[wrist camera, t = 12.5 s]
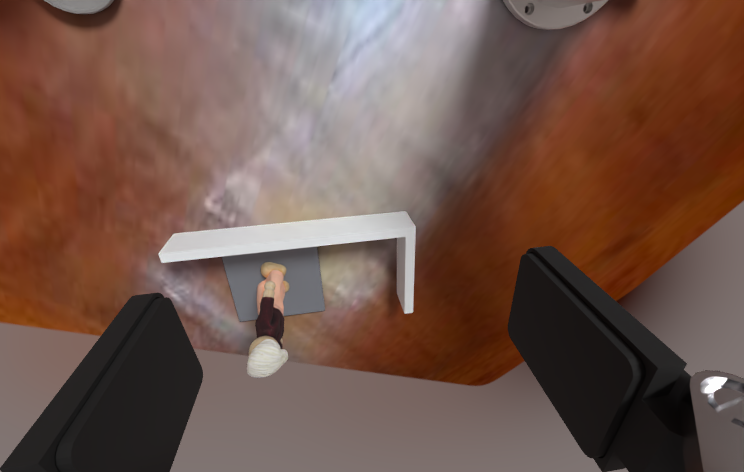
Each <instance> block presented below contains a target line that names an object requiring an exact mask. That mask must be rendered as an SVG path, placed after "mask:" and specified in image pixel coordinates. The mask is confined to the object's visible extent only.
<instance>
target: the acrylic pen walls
mask: <svg viewBox="0 0 744 472" xmlns="http://www.w3.org/2000/svg"><path fill="white" fill-rule="evenodd" d="M415 235H416V227H415V225H414V223H413V222H412V220H411V219H410V217H409V215H408V214H407V212H406V211H401V212H390V213H380V214H370V215H359V216H349V217H339V218H328V219H318V220H308V221H298V222H287V223H277V224H267V225H256V226H246V227H236V228H226V229H215V230H205V231H195V232H184V233H174V234H173V235H172V236H171V238H170V239H169V240H168V242H167V243H166V244H165V246H164V247H163V248H162V249H161V251H160V252H159V253H158V254H159V257H160V259H161V262H162V263H166V262H175V261H185V260H194V259H203V258H213V257H222V256H231V255H241V254H250V253H259V252H269V251H278V250H287V249H297V248H306V247H315V246H325V245H334V244H343V243H353V242H362V241H372V240H381V239H390V238H397V295H398V298H399V300H400V303H401V306H402V308H403V311H404V314H407V313H413V298H414V266H415Z"/></svg>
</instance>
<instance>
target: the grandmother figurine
mask: <svg viewBox="0 0 744 472" xmlns="http://www.w3.org/2000/svg"><path fill="white" fill-rule="evenodd" d="M261 274H262V275H263V276H264V277H265V278H266V280H264V281H262V282H261V283H259V284H258V287H257V308H258V318H257V320H256V325H255V326H256V331H257V339H255V340H254V341H253V342H252V344H251V346H250V348H249V358H248V362H247V373H248V375H250V376H252V377H255V378H259V377H260V378H262V377H267V376H270V375H271V374H273V373H275V372H276V371H277V370H279V369H280V367H281V366H282V365H283V364H284V363H285V362H286V361H287V359H288V352H287V351H286V350H285V349H282V342H283V340H282V336H283V332H284V317H283V313H284V306H283V300H284V296H285V293H286V292H287V291H288V290H289V288H290V287H289V283H288V282H286V281H283V280H284V276H285V274H286V267H285V266H283V265H281V264H277V263H273V262H265V263H264V264H262V266H261Z"/></svg>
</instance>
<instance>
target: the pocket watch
mask: <svg viewBox="0 0 744 472" xmlns="http://www.w3.org/2000/svg"><path fill="white" fill-rule="evenodd" d="M44 1H46V2H47V3H49V4H51V5H52V6H54V7H56V8H59V9H61V10H63V11H67V12H70V13H73V14H94V13H97V12H100V11H102V10H104V9H105V8H107V7H108V6H110V4H111V3H112V2H113V1H114V0H44Z"/></svg>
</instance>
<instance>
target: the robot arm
mask: <svg viewBox="0 0 744 472" xmlns="http://www.w3.org/2000/svg"><path fill="white" fill-rule="evenodd" d="M503 1H504V3H505V5H506V7H507V8H508V9H509V11H510V12H511V13H512V14H513V15H514V16H515V17H516V18H517V19H518V20H520V21H521V22H523V23H524V24H526V25H528V26H531V27H533V28H536V29H544V30H552V29H562V28H566V27H569V26H573V25H575V24H577V23H579V22H581V21H584V20H586V19H587V18H588V17H590V16H591V15H593V14H594V13H595V12H597V11H598V10H599V9H600V8H601V7H602V6H603V5H604V4H605V3H606V2H607V1H608V0H503ZM525 8H526V12H525ZM508 332H509V336H510V338H511V340H512V341H513V343H514V344H515V346H516V348H517V349H518V351H519V352H520V354H521V355H522V357H523V359H524V360H525V362H526V363H527V365H528V366H529V368H530V369H531V371H532V373H533V374H534V376H535V377H536V379H537V381H538V382H539V384H540V385H541V387H542V388H543V390H544V392H545V393H546V395H547V396H548V398H549V399H550V401H551V402H552V404H553V406H554V407H555V409H556V410H557V412H558V413H559V415H560V417H561V418H562V420H563V421H564V423H565V424H566V426H567V428H568V429H569V431H570V432H571V434H572V435H573V437H574V439H575V440H576V442H577V443H578V445H579V446H580V448H581V449H582V451H583V452H584V453H585V454H586V455H587V456H588V457H590V458H593V459H594V460H595V462H596V463H597V465H598V466H599V468H600V469H601V471H602V472H607V471H613V470H618V469H623V468H627V470H628V471H629V472H744V378H741V377H738V376H736V375H733V374H729V373H725V372H720V371H710V370H705V371H701V372H697V373H695V374H694V375H693V376H692V377H691V376H690V375H689V374H688V373H687V372H686V371H684V368H685V366H686V364H687V363H686V362H684V361H683V360H682V359H681V358H680V357H679V356H677V355H676V354H675V353H674V352H673V351H672V350H671V349H670V348H668V347H667V346H666V345H665V344H664V343H663V342H662V341H660V340H659V339H658V338H657V337H656V336H655V335H654V334H653V333H651V332H650V331H649V330H648V329H647V328H646V327H645V326H643V325H642V324H641V323H640V322H639V321H638V320H637V319H635V318H634V317H633V316H632V315H631V314H630V313H628V312H627V311H626V310H625V309H624V308H623V307H622V306H621V305H619V304H618V303H617V302H616V301H615V300H614V299H613V298H611V297H610V296H609V295H608V294H607V293H606V292H605V291H603V290H602V289H601V288H600V287H599V286H598V285H597V284H595V283H594V282H593V281H592V280H591V279H590V278H589V277H587V276H586V275H585V274H584V273H583V272H582V271H581V270H579V269H578V268H577V267H576V266H575V265H574V264H573V263H572V262H570V261H569V260H568V259H567V258H566V257H565V256H564V255H562V254H561V253H560V252H559V251H558V250H557V249H556V248H554V247H552V246H545V247H537V248H530V249H528V251H527V252H526V254H524V255H522V257H521V260H520V265H519V270H518V276H517V281H516V286H515V291H514V296H513V302H512V307H511V312H510V317H509V322H508ZM202 378H203V371H202V367H201V365H200V363H199V361H198V358H197V356H196V354H195V352H194V349H193V347H192V345H191V343H190V341H189V338H188V336H187V334H186V332H185V330H184V327H183V325H182V323H181V321H180V319H179V316H178V314H177V312H176V310H175V308H174V305H173V303H172V301H171V300H170V299H169V298H167V297H166V298H164V296H163V295H162V294H161V293H151V294H143V295H135V296H132V297H131V298H130V299H129V300H128V302H127V303H126V304H125V305H124V307H123V308H122V309H121V311H120V312H119V313H118V315H117V316H116V317H115V319H114V320H113V321H112V322H111V324H110V325H109V326H108V328H107V329H106V330H105V332H104V333H103V334H102V336H101V337H100V338H99V339H98V341H97V342H96V343H95V345H94V346H93V347H92V349H91V350H90V351H89V353H88V354H87V355H86V356H85V358H84V359H83V360H82V362H81V363H80V364H79V366H78V367H77V368H76V370H75V371H74V372H73V374H72V375H71V376H70V378H69V379H68V380H67V381H66V383H65V384H64V385H63V387H62V388H61V389H60V390H59V392H58V393H57V394H56V396H55V397H54V398H53V400H52V401H51V402H50V404H49V405H48V406H47V407H46V409H45V410H44V412H43V413H42V414H41V415H40V417H39V418H38V419H37V421H36V422H35V423H34V424H33V426H32V427H31V428H30V430H29V431H28V432H27V434H26V435H25V436H24V438H23V439H22V440H21V442H20V443H19V444H18V446H17V447H16V448H15V449H14V451H13V452H12V453H11V455H10V456H9V457H8V459H7V460H6V461H5V463H4V464H3V465H2V466H1V468H0V470H1V471H2V472H170V469H171V466H172V464H173V461H174V458H175V455H176V453H177V450H178V447H179V444H180V441H181V439H182V436H183V433H184V430H185V427H186V425H187V422H188V419H189V416H190V414H191V411H192V408H193V405H194V403H195V400H196V397H197V394H198V392H199V389H200V386H201V383H202Z"/></svg>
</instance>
